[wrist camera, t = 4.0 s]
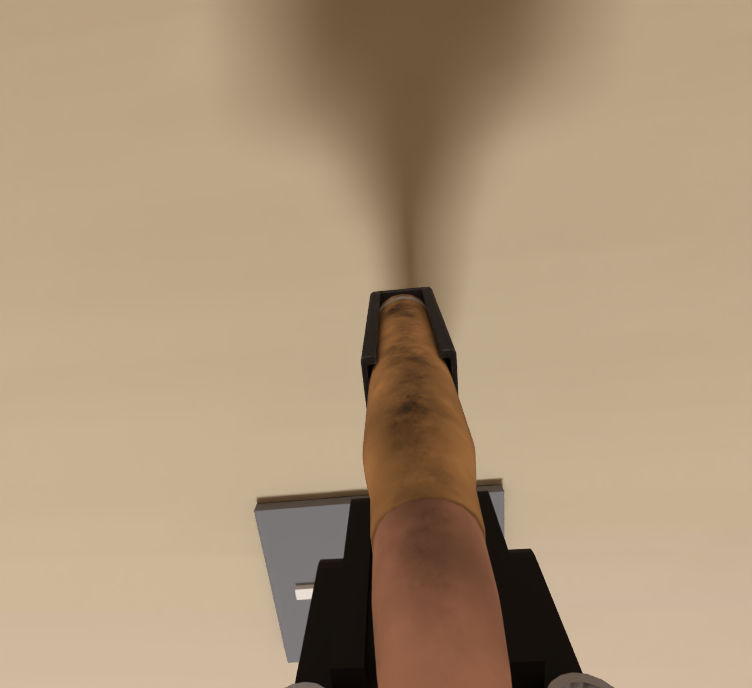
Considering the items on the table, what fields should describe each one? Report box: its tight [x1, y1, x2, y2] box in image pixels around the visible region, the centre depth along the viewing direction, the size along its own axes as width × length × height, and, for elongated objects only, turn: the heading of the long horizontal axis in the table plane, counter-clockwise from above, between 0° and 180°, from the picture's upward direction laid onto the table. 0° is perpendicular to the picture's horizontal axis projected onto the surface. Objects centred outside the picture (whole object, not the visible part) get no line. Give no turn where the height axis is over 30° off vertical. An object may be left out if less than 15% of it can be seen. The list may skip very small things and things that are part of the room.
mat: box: [254, 485, 504, 663], centre depth 26 cm, size 14×12×1 cm
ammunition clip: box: [361, 287, 512, 688], centre depth 9 cm, size 11×2×12 cm, turn 6°
